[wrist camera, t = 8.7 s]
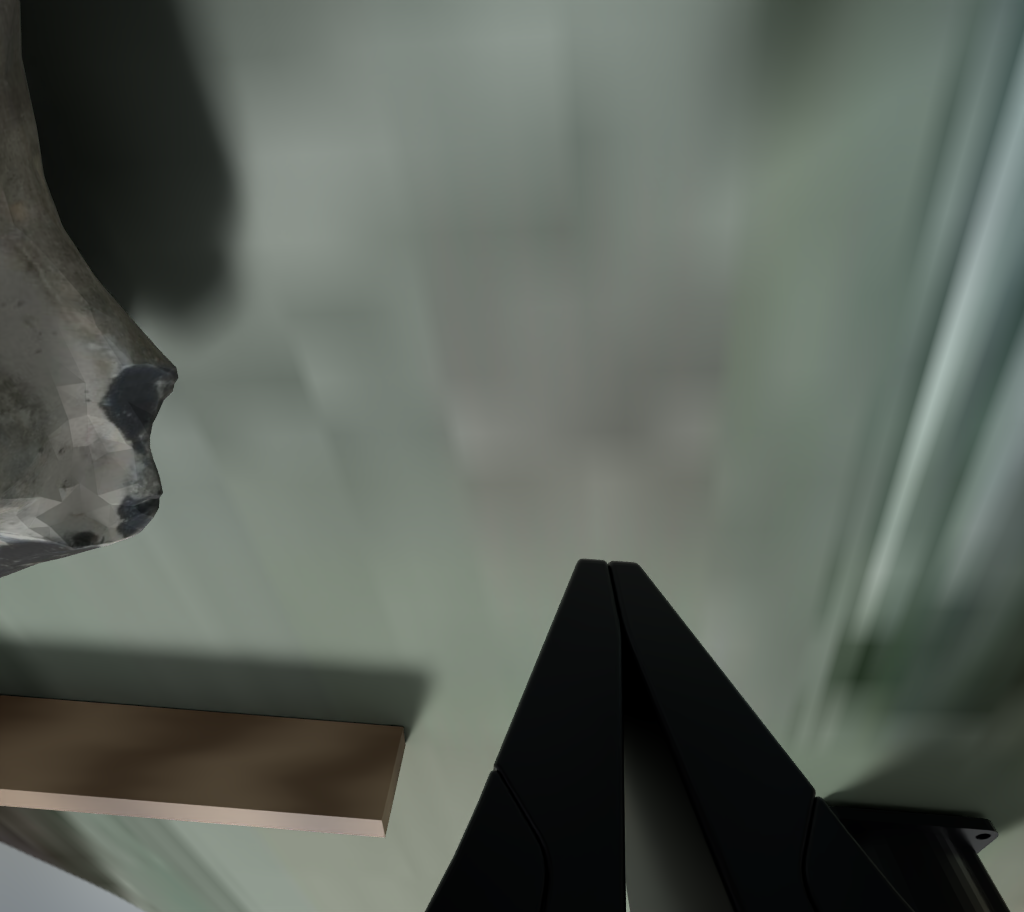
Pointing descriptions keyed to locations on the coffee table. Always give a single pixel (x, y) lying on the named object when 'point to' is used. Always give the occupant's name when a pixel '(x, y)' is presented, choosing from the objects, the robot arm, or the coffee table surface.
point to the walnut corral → (198, 765)
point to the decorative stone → (63, 365)
